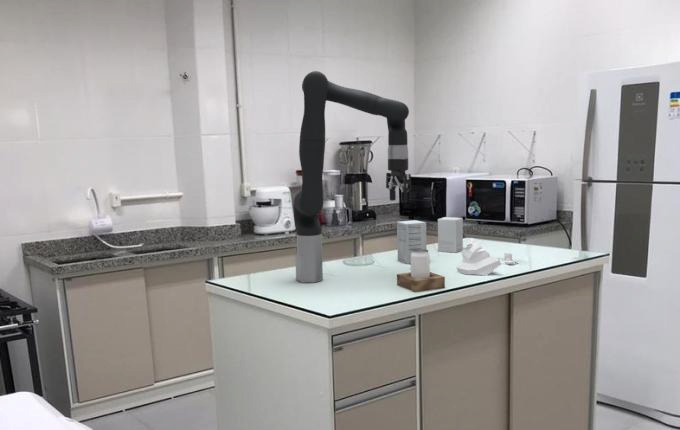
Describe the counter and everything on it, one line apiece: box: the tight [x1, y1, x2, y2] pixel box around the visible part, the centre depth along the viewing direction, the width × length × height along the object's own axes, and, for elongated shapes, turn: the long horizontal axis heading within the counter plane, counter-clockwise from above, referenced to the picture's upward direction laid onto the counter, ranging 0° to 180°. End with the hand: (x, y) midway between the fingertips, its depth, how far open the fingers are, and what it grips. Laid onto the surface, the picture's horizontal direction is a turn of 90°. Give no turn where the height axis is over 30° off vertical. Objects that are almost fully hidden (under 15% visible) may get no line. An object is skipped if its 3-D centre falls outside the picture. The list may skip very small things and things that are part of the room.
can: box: [410, 249, 431, 279], centre depth 205 cm, size 6×6×12 cm
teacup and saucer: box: [500, 252, 515, 265], centre depth 242 cm, size 9×8×4 cm
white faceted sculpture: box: [456, 237, 502, 276], centre depth 225 cm, size 12×15×14 cm
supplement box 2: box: [437, 216, 464, 254], centre depth 270 cm, size 9×9×15 cm
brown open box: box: [396, 271, 446, 293], centre depth 206 cm, size 12×12×4 cm
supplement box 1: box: [396, 219, 428, 265], centre depth 248 cm, size 10×9×17 cm
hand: (398, 201), depth 220 cm, fingers open, 8 cm apart
